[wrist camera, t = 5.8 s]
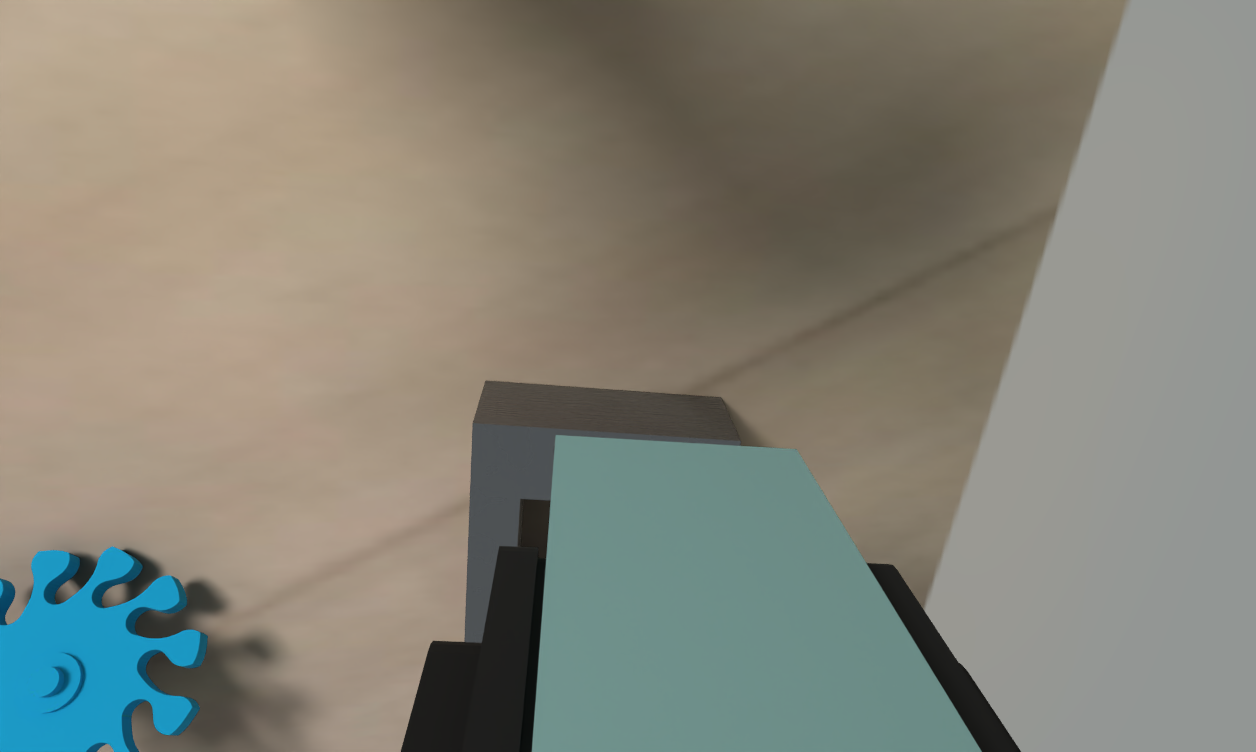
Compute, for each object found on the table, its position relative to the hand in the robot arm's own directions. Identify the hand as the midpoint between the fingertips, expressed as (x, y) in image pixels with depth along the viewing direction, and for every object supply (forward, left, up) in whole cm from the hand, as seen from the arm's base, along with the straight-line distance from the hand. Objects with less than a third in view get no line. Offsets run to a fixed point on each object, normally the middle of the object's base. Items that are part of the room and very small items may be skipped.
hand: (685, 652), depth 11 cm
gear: (+15, -20, -20) cm, 32 cm away
